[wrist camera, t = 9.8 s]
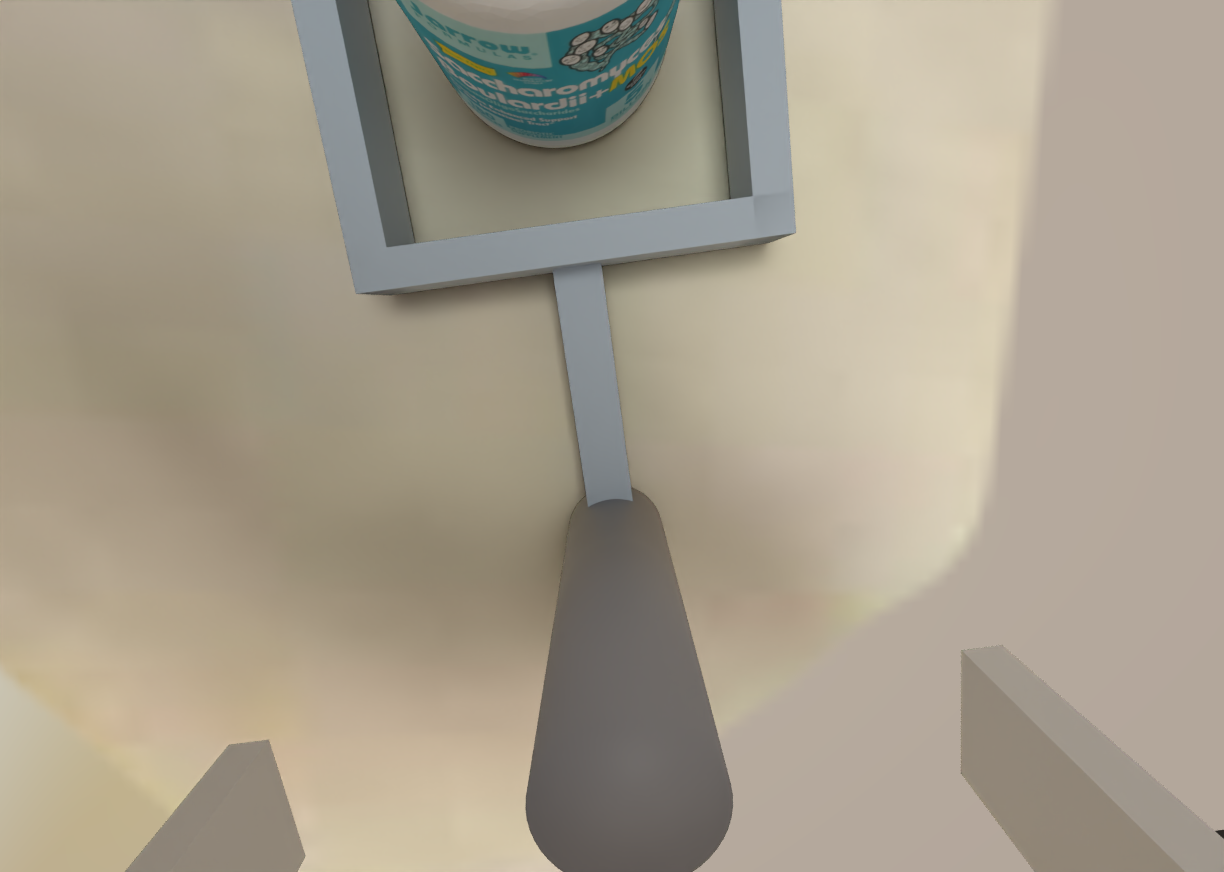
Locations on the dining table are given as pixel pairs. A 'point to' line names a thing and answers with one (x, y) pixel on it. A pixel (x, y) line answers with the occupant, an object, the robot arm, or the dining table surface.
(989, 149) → the dining table surface
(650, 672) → the grey frame on stick
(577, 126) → the pill bottle
